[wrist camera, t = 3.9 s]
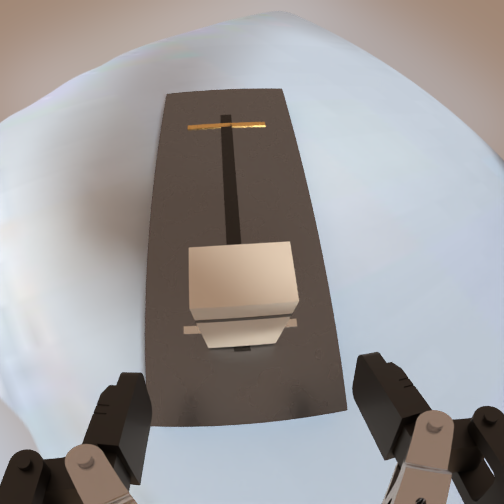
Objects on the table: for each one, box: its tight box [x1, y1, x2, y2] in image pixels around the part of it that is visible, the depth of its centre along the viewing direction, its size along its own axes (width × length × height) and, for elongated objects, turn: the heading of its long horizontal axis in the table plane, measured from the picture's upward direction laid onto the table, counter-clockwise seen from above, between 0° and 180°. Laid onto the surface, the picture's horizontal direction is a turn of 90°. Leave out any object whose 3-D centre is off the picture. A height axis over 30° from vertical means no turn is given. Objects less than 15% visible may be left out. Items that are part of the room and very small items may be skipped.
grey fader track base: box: [145, 89, 347, 427], centre depth 25 cm, size 30×12×2 cm, turn 5°
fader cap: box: [189, 242, 299, 348], centre depth 16 cm, size 2×4×8 cm, turn 95°
